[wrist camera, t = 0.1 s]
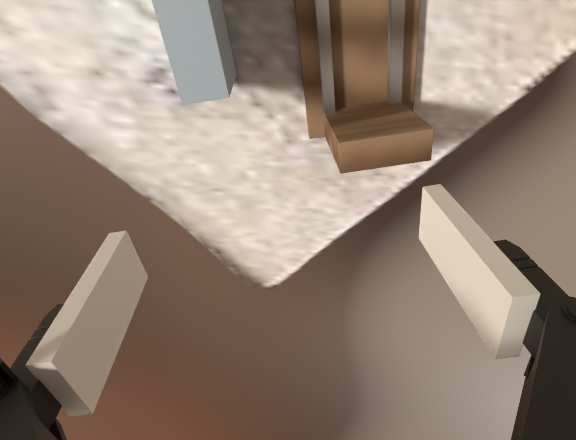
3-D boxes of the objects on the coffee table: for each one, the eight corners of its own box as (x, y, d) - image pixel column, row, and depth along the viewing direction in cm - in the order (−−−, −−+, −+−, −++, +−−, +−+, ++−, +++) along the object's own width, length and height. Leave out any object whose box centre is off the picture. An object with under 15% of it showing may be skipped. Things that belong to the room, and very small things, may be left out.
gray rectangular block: (171, -33, 33) (139, -41, 25) (213, -40, 33) (196, -50, 25) (200, 79, 38) (182, 104, 30) (236, 74, 38) (229, 97, 30)
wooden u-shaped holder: (282, -111, 31) (291, -154, 21) (422, -134, 30) (492, -189, 21) (308, 135, 42) (321, 176, 33) (409, 120, 42) (450, 157, 33)
